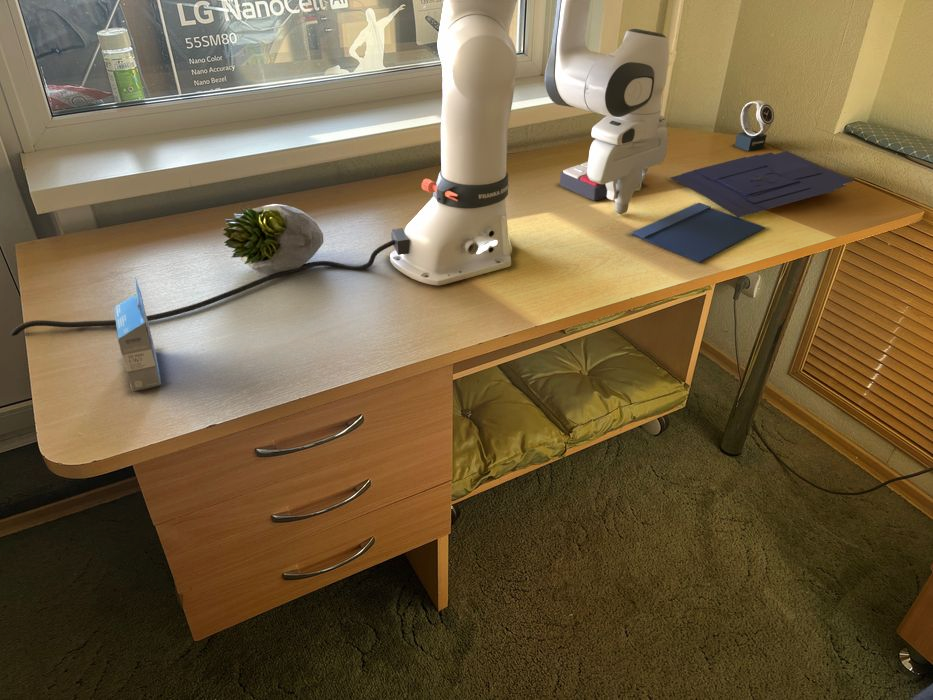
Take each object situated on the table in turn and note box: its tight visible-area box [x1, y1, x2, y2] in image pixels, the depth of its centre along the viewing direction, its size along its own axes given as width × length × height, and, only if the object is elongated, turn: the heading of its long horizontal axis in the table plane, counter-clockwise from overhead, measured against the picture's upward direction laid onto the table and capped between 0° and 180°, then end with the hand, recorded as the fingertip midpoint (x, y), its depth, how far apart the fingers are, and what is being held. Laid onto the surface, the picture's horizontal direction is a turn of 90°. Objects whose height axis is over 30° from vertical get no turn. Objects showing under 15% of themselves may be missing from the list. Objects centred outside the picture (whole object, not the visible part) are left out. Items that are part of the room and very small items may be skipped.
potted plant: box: [222, 203, 324, 276], centre depth 118 cm, size 12×13×15 cm
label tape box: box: [113, 275, 162, 392], centre depth 93 cm, size 9×4×12 cm, turn 25°
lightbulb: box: [614, 166, 642, 215], centre depth 139 cm, size 6×6×11 cm
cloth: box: [631, 202, 766, 264], centre depth 135 cm, size 22×15×1 cm
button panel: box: [559, 161, 644, 202], centre depth 154 cm, size 11×4×15 cm
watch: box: [734, 100, 775, 152], centre depth 174 cm, size 6×8×11 cm
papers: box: [669, 150, 856, 218], centre depth 152 cm, size 24×30×4 cm
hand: (623, 194), depth 139 cm, fingers closed on lightbulb, 6 cm apart
